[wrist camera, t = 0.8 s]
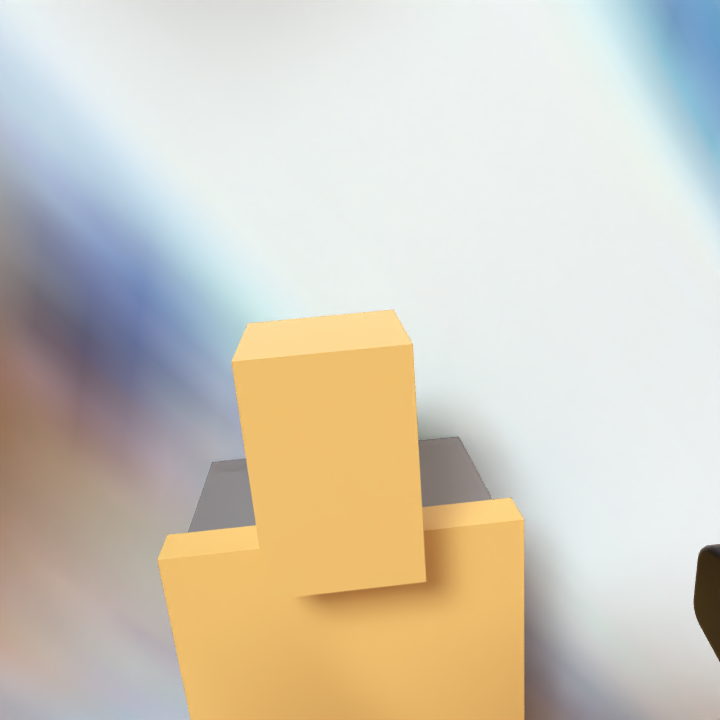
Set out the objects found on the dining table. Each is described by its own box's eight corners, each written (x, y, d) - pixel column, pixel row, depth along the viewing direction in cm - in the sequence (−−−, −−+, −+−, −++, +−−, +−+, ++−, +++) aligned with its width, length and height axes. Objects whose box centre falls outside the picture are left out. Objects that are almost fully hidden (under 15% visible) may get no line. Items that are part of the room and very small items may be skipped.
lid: (513, 816, 18) (547, 926, 16) (231, 854, 18) (217, 972, 15) (509, 298, 14) (556, 330, 11) (127, 334, 13) (81, 376, 11)
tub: (467, 680, 23) (506, 813, 18) (253, 706, 23) (237, 848, 18) (458, 436, 20) (503, 519, 15) (212, 462, 20) (180, 555, 15)
